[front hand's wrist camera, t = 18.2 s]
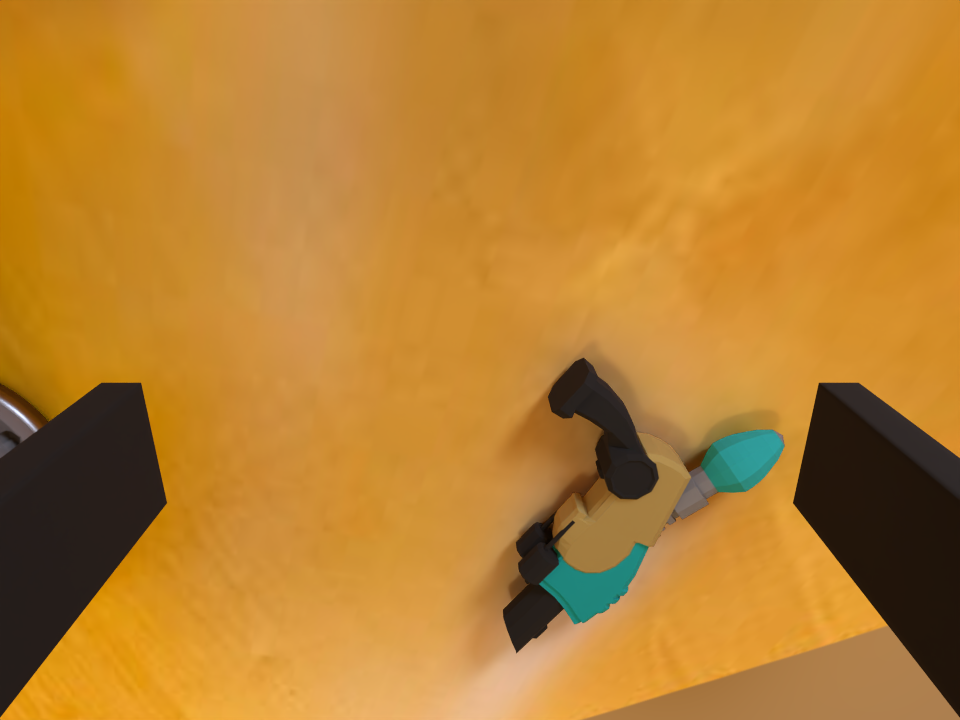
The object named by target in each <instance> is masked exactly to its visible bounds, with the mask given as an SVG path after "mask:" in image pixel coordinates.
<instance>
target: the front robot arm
mask: <svg viewBox="0 0 960 720" xmlns="http://www.w3.org/2000/svg"><path fill="white" fill-rule="evenodd" d="M166 504H167V501H166V496H165V492H164V487H163V483H162V478H161V473H160V469H159V464H158V459H157V455H156V450H155V445H154V441H153V436H152V432H151V427H150V422H149V418H148V413H147V408H146V404H145V399H144V395H143V390H142V385H141V383H101V384H99V385H98V386H97V387H95V388H94V389H92V390H91V391H90V392H88V393H87V394H86V395H84V396H83V397H82V398H80V399H79V400H78V401H76V402H75V403H74V404H72V405H71V406H70V407H68V408H67V409H66V410H64V411H63V412H62V413H60V414H59V415H58V416H56V417H55V418H54V419H52V420H51V421H50V422H48V421H47V420H46V419H45V417H44V416H43V415H42V414H41V413H40V412H39V411H38V410H37V409H36V408H35V407H33V406H32V405H31V404H30V403H29V402H28V401H26V400H25V399H24V398H22V397H21V396H19V395H18V394H17V393H15V392H13V391H12V390H10V389H9V388H7V387H5V386H3V385H1V384H0V717H1V716H2V714H3V713H4V712H5V711H6V709H7V708H8V707H9V705H10V704H11V703H12V702H13V700H14V699H15V698H16V696H17V695H18V694H19V693H20V691H21V690H22V689H23V687H24V686H25V685H26V684H27V682H28V681H29V680H30V678H31V677H32V676H33V675H34V673H35V672H36V671H37V669H38V668H39V667H40V666H41V664H42V663H43V662H44V660H45V659H46V658H47V657H48V655H49V654H50V653H51V651H52V650H53V649H54V648H55V646H56V645H57V644H58V642H59V641H60V640H61V639H62V637H63V636H64V635H65V633H66V632H67V631H68V630H69V628H70V627H71V626H72V624H73V623H74V622H75V621H76V619H77V618H78V617H79V615H80V614H81V613H82V612H83V610H84V609H85V608H86V606H87V605H88V604H89V603H90V601H91V600H92V599H93V597H94V596H95V595H96V594H97V592H98V591H99V590H100V588H101V587H102V586H103V585H104V583H105V582H106V581H107V579H108V578H109V577H110V576H111V574H112V573H113V572H114V570H115V569H116V568H117V567H118V565H119V564H120V563H121V561H122V560H123V559H124V558H125V556H126V555H127V554H128V552H129V551H130V550H131V549H132V547H133V546H134V545H135V543H136V542H137V541H138V540H139V538H140V537H141V536H142V534H143V533H144V532H145V531H146V529H147V528H148V527H149V525H150V524H151V523H152V522H153V520H154V519H155V518H156V516H157V515H158V514H159V513H160V511H161V510H162V509H163V507H164V506H165V505H166ZM793 504H794V505H795V506H796V507H797V509H798V510H799V511H800V513H801V514H802V515H803V516H804V518H805V519H806V520H807V522H808V523H809V524H810V525H811V527H812V528H813V529H814V531H815V532H816V533H817V534H818V536H819V537H820V538H821V540H822V541H823V542H824V543H825V545H826V546H827V547H828V549H829V550H830V551H831V552H832V554H833V555H834V556H835V558H836V559H837V560H838V561H839V563H840V564H841V565H842V567H843V568H844V569H845V570H846V572H847V573H848V574H849V576H850V577H851V578H852V579H853V581H854V582H855V583H856V585H857V586H858V587H859V588H860V590H861V591H862V592H863V594H864V595H865V596H866V597H867V599H868V600H869V601H870V603H871V604H872V605H873V606H874V608H875V609H876V610H877V612H878V613H879V614H880V615H881V617H882V618H883V619H884V621H885V622H886V623H887V624H888V626H889V627H890V628H891V630H892V631H893V632H894V633H895V635H896V636H897V637H898V638H899V640H900V641H901V642H902V644H903V645H904V646H905V648H906V649H907V650H908V651H909V653H910V654H911V655H912V657H913V658H914V659H915V660H916V662H917V663H918V664H919V666H920V667H921V668H922V669H923V671H924V672H925V673H926V675H927V676H928V677H929V678H930V680H931V681H932V682H933V684H934V685H935V686H936V687H937V689H938V690H939V691H940V692H941V694H942V695H943V696H944V698H945V699H946V700H947V702H948V703H949V704H950V705H951V707H952V708H953V709H954V711H955V712H956V713H957V714H958V716H959V717H960V458H959V457H957V456H956V455H955V454H953V453H952V452H951V451H949V450H948V449H947V448H945V447H944V446H943V445H941V444H940V443H939V442H937V441H936V440H935V439H933V438H932V437H931V436H929V435H928V434H927V433H925V432H924V431H923V430H921V429H920V428H918V427H917V426H916V425H914V424H913V423H912V422H910V421H909V420H908V419H906V418H905V417H904V416H902V415H901V414H900V413H898V412H897V411H896V410H894V409H893V408H892V407H890V406H889V405H888V404H886V403H885V402H884V401H882V400H881V399H880V398H878V397H877V396H876V395H874V394H873V393H872V392H870V391H869V390H868V389H866V388H865V387H863V386H862V385H861V384H859V383H819V385H818V390H817V395H816V399H815V404H814V408H813V413H812V418H811V422H810V427H809V432H808V436H807V441H806V445H805V450H804V455H803V459H802V464H801V469H800V473H799V478H798V483H797V487H796V492H795V496H794V501H793Z"/></svg>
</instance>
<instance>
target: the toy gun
mask: <svg viewBox="0 0 960 720" xmlns="http://www.w3.org/2000/svg"><path fill="white" fill-rule="evenodd" d="M548 399H549V403H550V407H551V410H552V412H553V413H555V414H556V415H558V416H560V417H562V418H572V417H573V414H574V413H576V414H578V415H580V416H582V417H584V418H586V419H588V420H590V421H591V422H593V423H594V424H596V425H597V426H599V427H600V428H602V429H603V430H604V435H603V436H601V438H600V440H599V442H598V444H597V446H596V448H595V451H596V455H597V459H598V460H597V461H596V465H597V469H598V472H599V475H600V477H599V479H598V480H597V481H596V482H595V484H594V485H593V486H592V487H591V488H590V490H589V491H588V492H587V493H586V495H585V496H583V497H581V496H580V493H575V492H573V494H572V495H571V496H570V497H569V498H568V499H567V500H566V502H565V503H564V504H563V505H562V506H561V507H560V508H559V509H558V510H557V511H556V512H555V513H554V514H553V515H552V516H551V517H550V518H549V519H548V520H547V521H546V522H545V523H544V524H541V523H538V522H537V523H535V524H534V525H533V526H532V527H531V528H530V529H529V530H528V531H527V532H526V533H525V534H524V535H523V536H522V537H521V538H520V539H519V540H518V541H517V542H516V547H517V551H518V553H519V554H520V556H521V557H522V558H523V559H522V560H521V561H520V562H519V563H518V567H519V572H520V574H521V575H522V577H523V578H524V579H525V582H526V583H527V584H529V583H530V584H529V585H528V586H527V587H526V588H525V589H524V590H523V591H522V592H521V593H520V594H519V595H518V596H517V597H516V598H515V599H514V600H513V601H511V602H510V603H509V604H508V605H507V606H506V607H505V608H504V609H503V618H504V621H505V624H506V627H507V631H508V633H509V636H510V638H511V641H512V643H513V646H514V648H515V650H516V653H517V652H518V651H519V650H521V649H522V648H523V647H524V646H525V645H526V644H527V643H528V642H529V641H530V640H531V639H532V638H537V637H539V636H540V635H541V634H542V633H543V632H544V631H545V630H546V629H547V624H548V623H549V622H550V621H551V620H552V619H553V618H554V617H556V616H557V615H558V614H559V613H560V612H561V611H562V610H563V609H565V611H566V612H567V614H568V615H569V617H570V618H571V620H572V621H573V623H574V624H577V623H579V622H582V623H585V622H586V621H588V620H589V619H590V618H592V617H593V616H595V615H596V614H597V613H603V612H605V611H606V610H608V609H609V607H610V604H615V603H616V602H617V601H618V600H619V599H620V596H624V595H625V594H626V593H627V591H628V585H629V584H630V582H631V581H632V580H633V578H634V577H635V575H636V573H637V571H638V569H639V567H640V564H641V562H642V560H643V558H644V556H645V554H646V552H647V550H648V547H653V546H654V545H655V543H656V541H657V539H658V538H659V537H660V534H661V532H662V531H663V530H665V527H664V526H665V524H666V523H668V524H669V525H671V524H672V523H674V522H676V519H675V518H677V517H679V516H680V517H681V518H682V519H684V518H686V517H687V516H689V515H691V514H693V513H694V512H696V511H698V510H700V509H701V508H703V507H705V506H706V505H708V504H709V503H708V502H707V500H706V499H707V498H709V497H710V496H712V495H714V494H716V493H717V492H732V493H734V492H746V491H748V490H749V489H751V488H752V487H754V486H755V485H756V484H758V483H759V482H760V481H761V480H762V479H763V478H764V477H765V476H766V475H767V473H768V472H769V471H770V469H771V468H772V467H773V466H774V464H775V463H776V462H777V460H778V459H779V457H780V455H781V453H782V450H783V448H784V446H785V445H784V440H783V435H781V434H779V433H778V432H776V431H774V430H753V431H748V432H743V433H737V434H733V435H730V436H727V437H725V438H722V439H720V440H718V441H716V442H714V443H713V444H712V445H711V446H710V448H709V450H708V451H707V453H706V455H705V457H704V459H703V461H702V463H701V465H700V466H699V467H697V468H696V469H694V470H692V471H690V472H688V471H687V469H686V467H685V466H684V464H683V462H682V460H681V459H680V457H679V455H678V454H677V453H676V452H675V450H674V449H673V448H672V447H671V446H670V445H669V444H667V443H666V442H664V441H663V440H661V439H659V438H657V437H655V436H653V435H651V434H646V433H639V432H636V430H635V426H634V424H633V422H632V420H631V417H630V415H629V413H628V411H627V409H626V407H625V405H624V403H623V402H622V400H621V399H620V398H619V397H618V396H617V395H616V393H615V392H614V391H613V390H612V389H611V387H610V386H609V385H608V384H607V383H606V382H604V381H603V380H602V379H600V378H599V377H598V376H597V374H596V372H595V369H594V367H593V366H592V365H591V364H590V363H589V362H588V361H587V360H586V359H584V358H582V359H580V360H578V361H575V362H574V364H573V365H572V366H571V367H570V368H569V369H568V370H567V371H566V372H565V373H564V375H563V376H562V377H561V378H560V379H559V380H558V381H557V382H556V383H555V384H554V385H553V387H552V389H551V392H550V394H549V396H548ZM553 521H554V525H553V531H551V530H550V529H549V528H548V526H549V525H550V524H551V523H552V522H553Z"/></svg>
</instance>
